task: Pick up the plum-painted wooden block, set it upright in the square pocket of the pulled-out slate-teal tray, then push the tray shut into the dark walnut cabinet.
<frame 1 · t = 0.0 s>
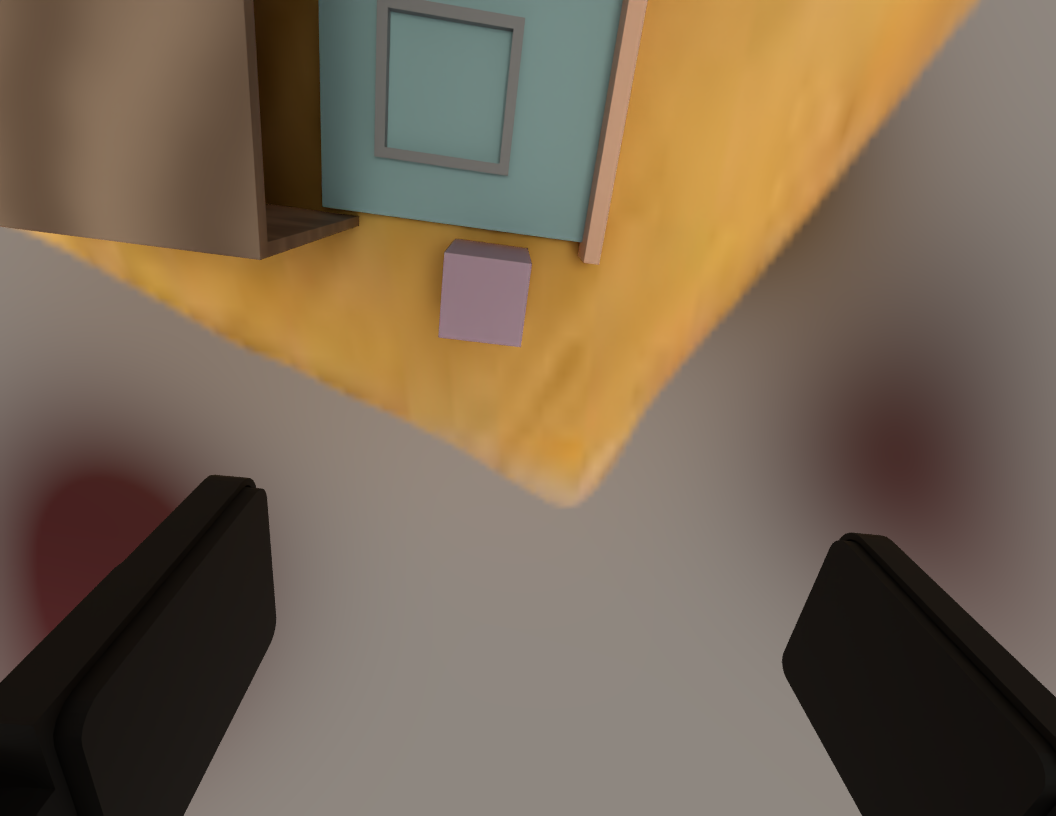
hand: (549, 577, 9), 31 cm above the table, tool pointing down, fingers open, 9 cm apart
cabinet: (241, 61, 32), on the table
block: (488, 279, 38), on the table
tray: (472, 94, 31), point 2 cm above the table, slide at 11.0 cm
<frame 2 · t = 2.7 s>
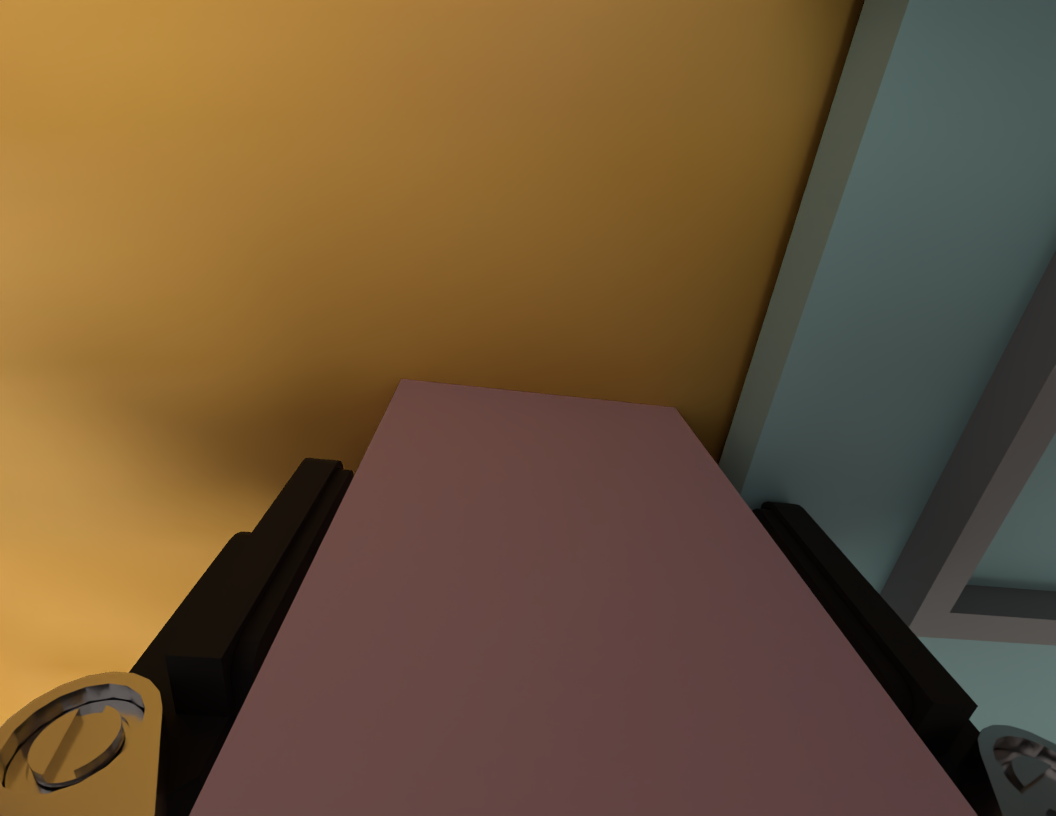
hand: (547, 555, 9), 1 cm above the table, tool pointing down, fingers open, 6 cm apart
block: (523, 507, 11), on the table
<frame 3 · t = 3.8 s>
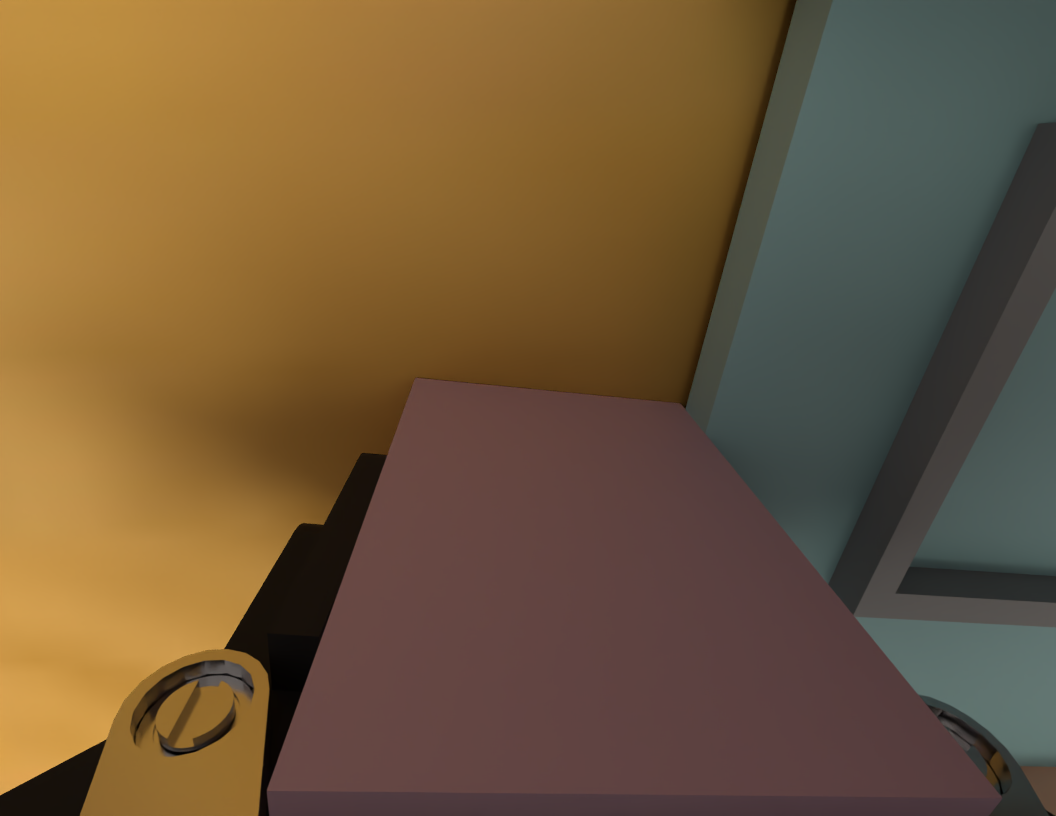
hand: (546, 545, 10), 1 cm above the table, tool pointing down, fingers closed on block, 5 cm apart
block: (533, 503, 11), on the table, touching gripper, tray
when the fingers open (3 cm above the table, at t = 9.9 s): block stays where it is, resting on tray.
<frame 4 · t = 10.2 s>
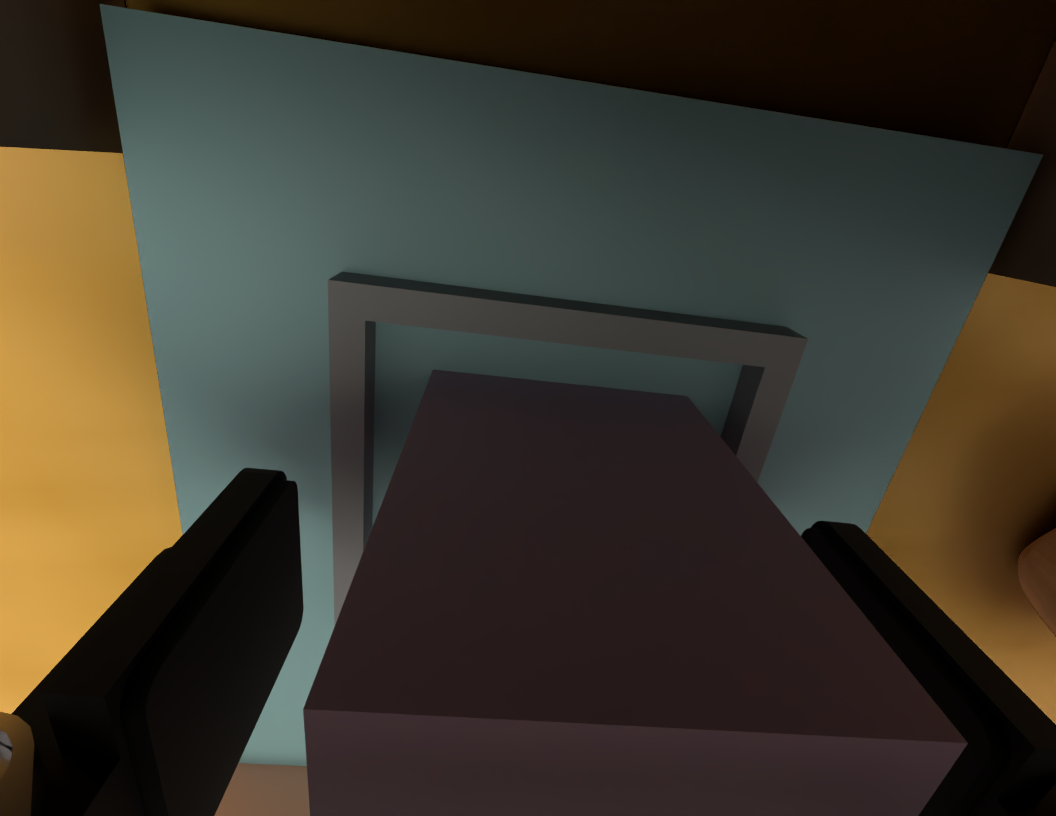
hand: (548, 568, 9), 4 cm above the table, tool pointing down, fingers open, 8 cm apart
block: (545, 492, 11), point 1 cm above the table, touching tray
tray: (532, 566, 11), point 2 cm above the table, slide at 11.0 cm, touching block
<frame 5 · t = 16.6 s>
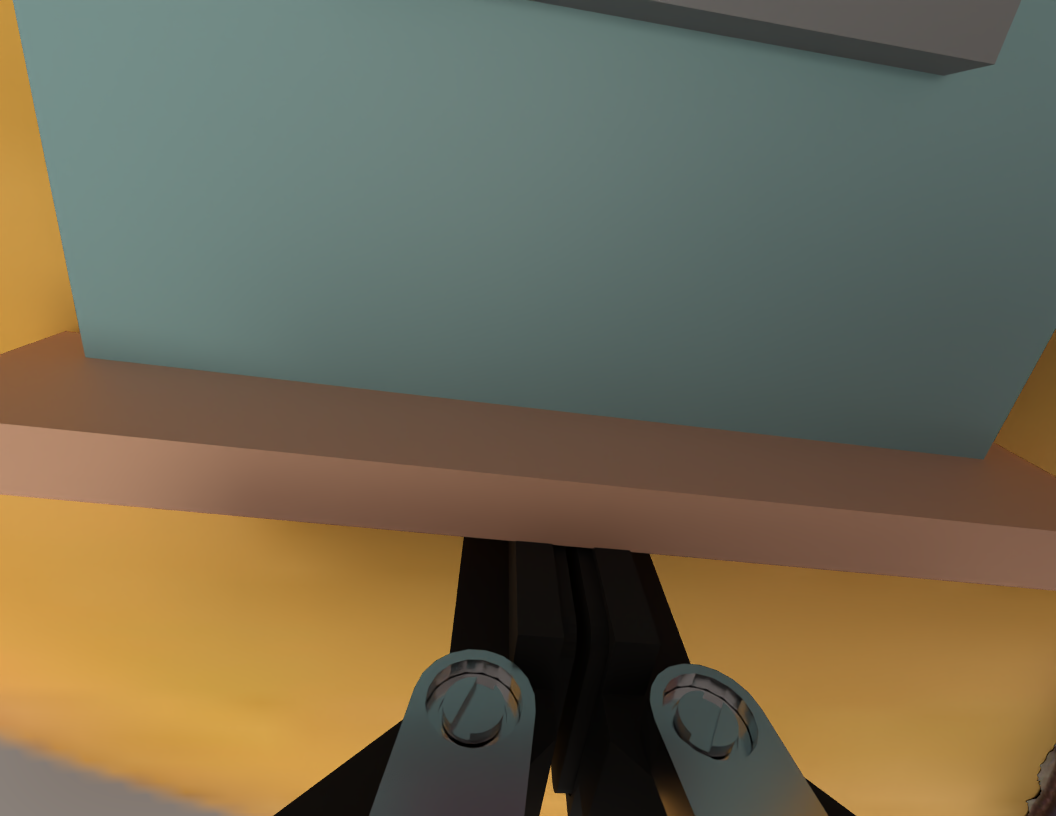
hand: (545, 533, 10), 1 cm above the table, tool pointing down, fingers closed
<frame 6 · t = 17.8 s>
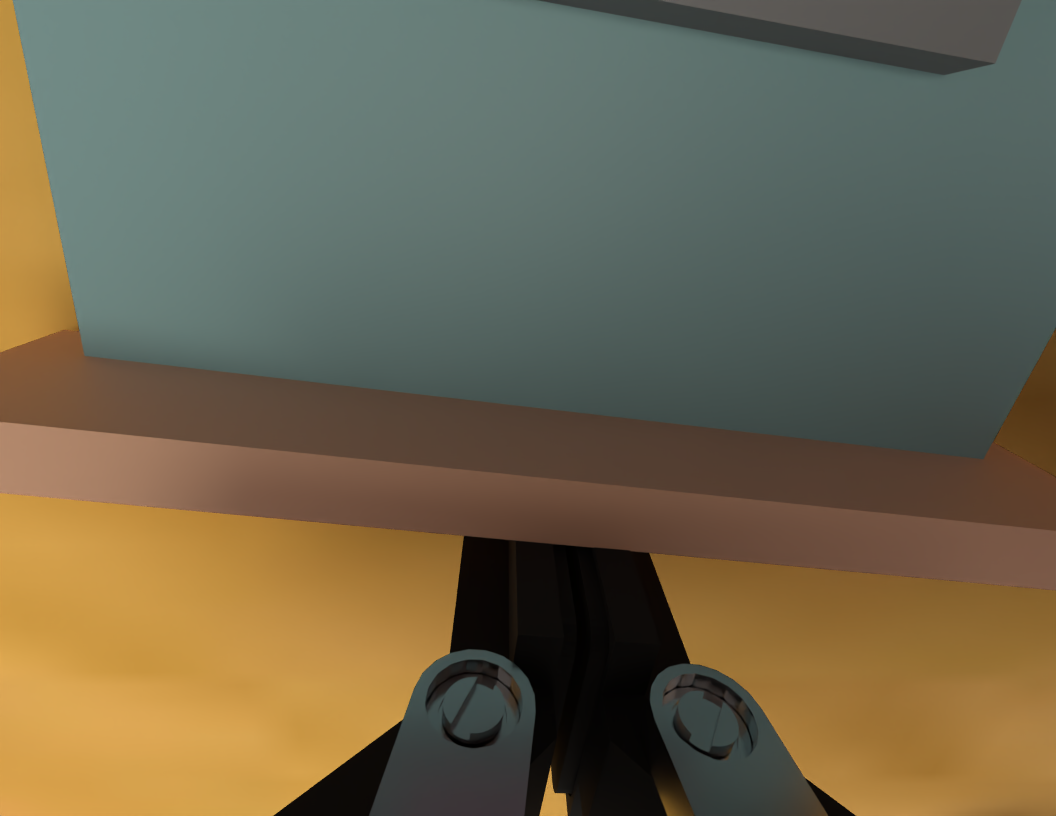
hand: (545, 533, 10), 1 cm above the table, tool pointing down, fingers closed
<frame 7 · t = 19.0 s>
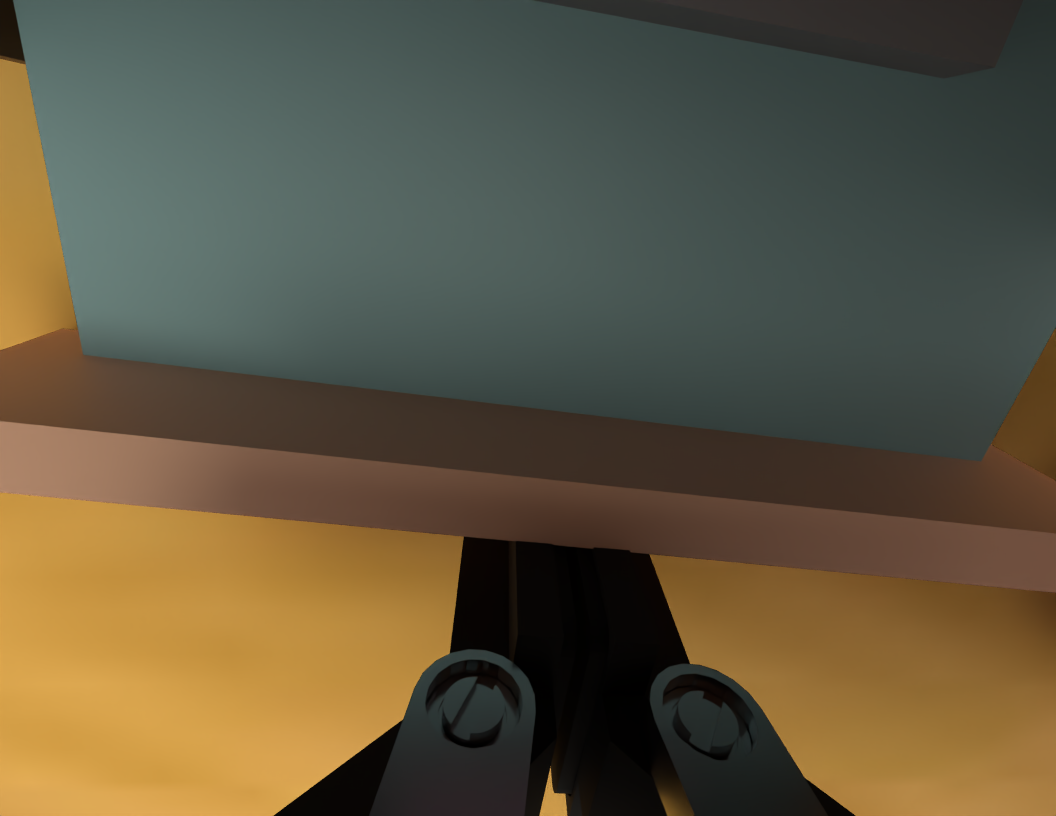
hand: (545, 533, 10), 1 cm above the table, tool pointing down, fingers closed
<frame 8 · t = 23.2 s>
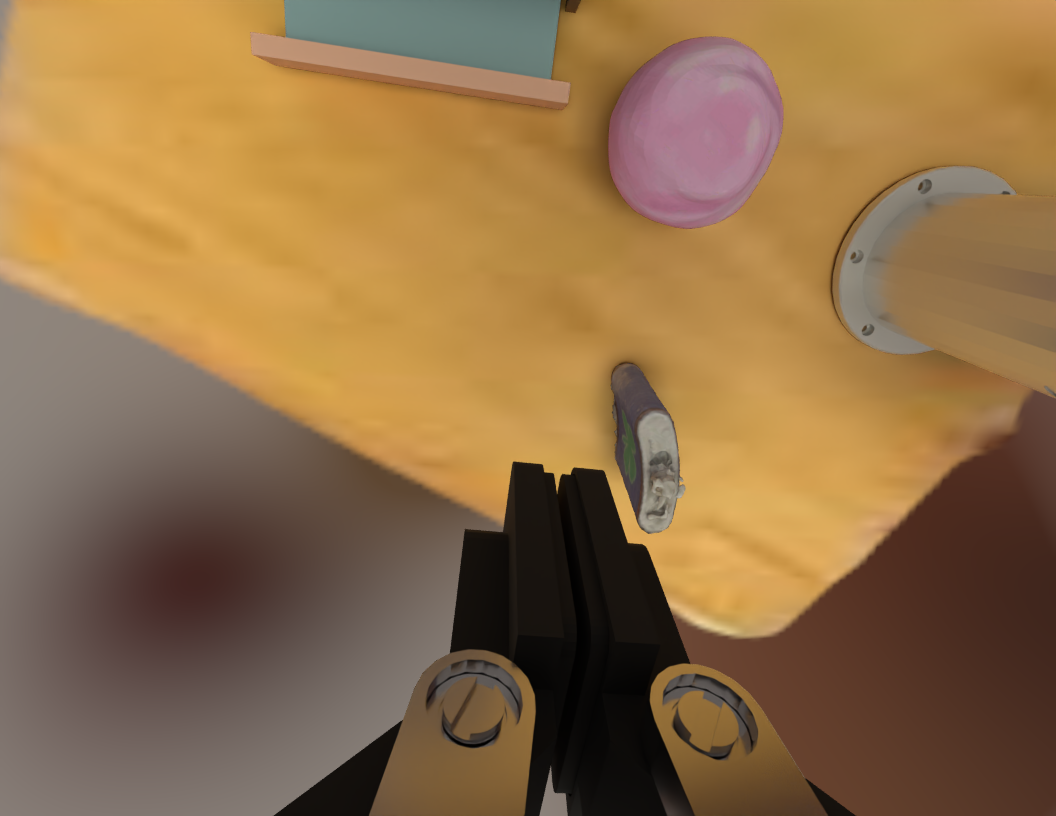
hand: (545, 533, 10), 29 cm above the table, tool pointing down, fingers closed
flask: (628, 416, 42), on the table
cupcake: (659, 144, 34), on the table
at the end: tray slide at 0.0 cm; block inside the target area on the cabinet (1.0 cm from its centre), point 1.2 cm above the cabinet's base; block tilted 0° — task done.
